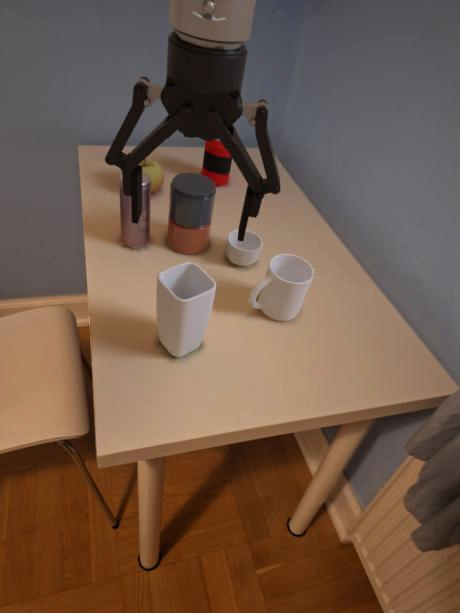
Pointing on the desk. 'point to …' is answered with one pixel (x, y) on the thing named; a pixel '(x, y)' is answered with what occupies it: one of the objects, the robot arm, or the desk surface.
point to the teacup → (243, 248)
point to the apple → (153, 173)
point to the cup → (183, 307)
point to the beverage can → (131, 232)
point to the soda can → (216, 162)
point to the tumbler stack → (190, 213)
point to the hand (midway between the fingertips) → (189, 226)
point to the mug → (283, 287)
